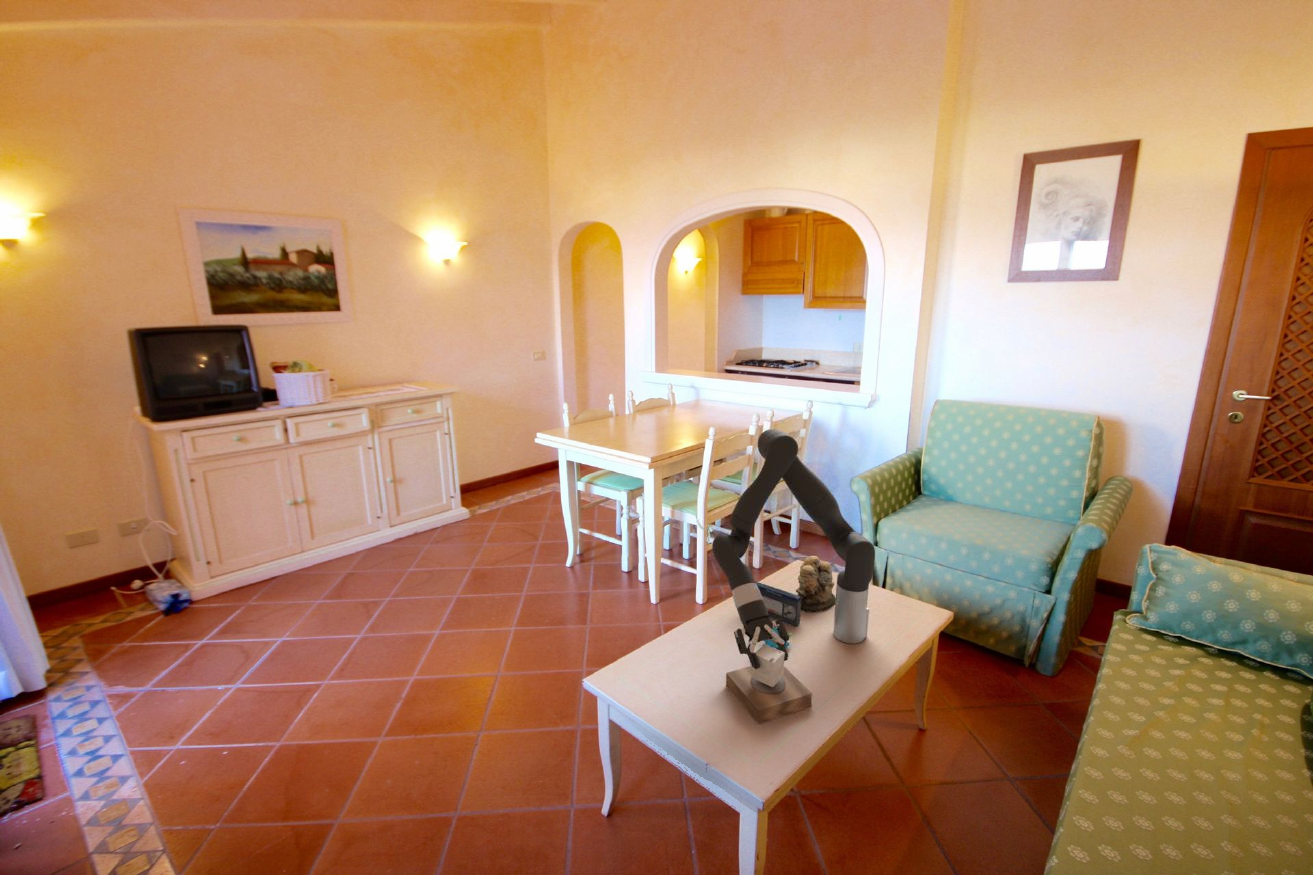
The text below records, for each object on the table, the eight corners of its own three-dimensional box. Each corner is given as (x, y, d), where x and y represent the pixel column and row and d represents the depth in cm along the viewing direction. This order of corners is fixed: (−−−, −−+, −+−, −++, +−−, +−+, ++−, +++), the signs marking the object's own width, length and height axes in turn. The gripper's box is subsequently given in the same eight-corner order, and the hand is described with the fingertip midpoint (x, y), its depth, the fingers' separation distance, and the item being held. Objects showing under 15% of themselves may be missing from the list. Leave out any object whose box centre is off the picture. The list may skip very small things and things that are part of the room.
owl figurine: (812, 618, 192) (815, 570, 188) (783, 605, 200) (785, 559, 197) (843, 600, 203) (846, 554, 199) (814, 588, 212) (817, 544, 208)
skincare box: (763, 667, 157) (764, 643, 156) (784, 676, 154) (785, 651, 152) (751, 678, 153) (752, 653, 151) (772, 688, 149) (773, 662, 147)
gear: (764, 655, 169) (757, 620, 174) (755, 660, 174) (748, 626, 179) (797, 653, 173) (789, 619, 178) (788, 657, 177) (780, 624, 183)
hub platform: (775, 671, 165) (776, 657, 164) (811, 706, 150) (812, 692, 149) (725, 685, 158) (726, 671, 157) (758, 724, 144) (758, 709, 143)
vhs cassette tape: (746, 608, 198) (747, 582, 196) (751, 605, 200) (752, 578, 198) (796, 628, 186) (797, 599, 184) (800, 624, 188) (802, 596, 186)
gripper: (731, 604, 153) (754, 668, 145) (777, 593, 158) (801, 654, 151) (721, 612, 159) (742, 674, 151) (766, 602, 164) (788, 661, 157)
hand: (771, 664), depth 151 cm, fingers closed on skincare box, 8 cm apart
